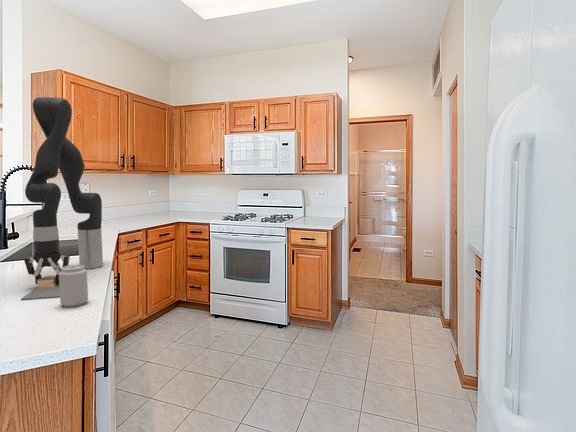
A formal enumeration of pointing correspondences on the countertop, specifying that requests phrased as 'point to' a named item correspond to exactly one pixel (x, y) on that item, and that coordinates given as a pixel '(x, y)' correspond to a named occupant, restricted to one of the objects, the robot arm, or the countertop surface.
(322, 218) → the countertop surface
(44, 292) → the mat
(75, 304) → the can
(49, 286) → the beige rectangular block
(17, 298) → the countertop surface
